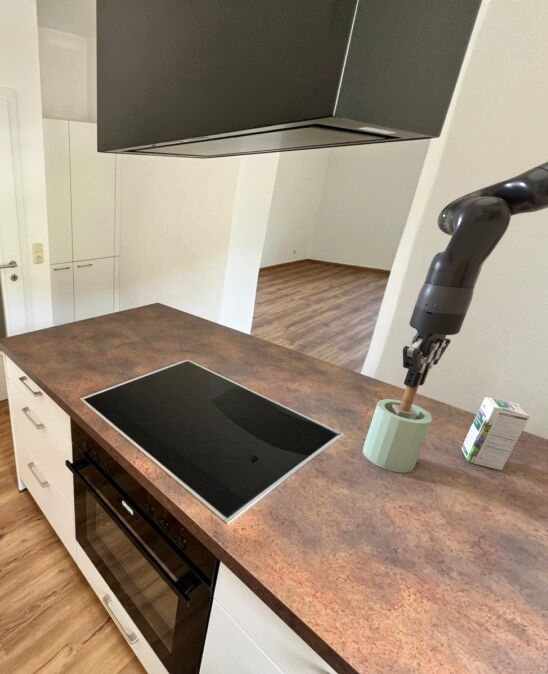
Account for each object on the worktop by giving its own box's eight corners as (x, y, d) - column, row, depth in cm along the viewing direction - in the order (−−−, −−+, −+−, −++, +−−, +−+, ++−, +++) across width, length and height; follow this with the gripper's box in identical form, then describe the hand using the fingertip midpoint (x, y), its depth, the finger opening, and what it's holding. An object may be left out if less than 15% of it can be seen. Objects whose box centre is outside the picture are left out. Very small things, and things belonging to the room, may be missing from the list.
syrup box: (459, 448, 86) (482, 395, 81) (494, 456, 83) (520, 402, 78) (467, 462, 82) (492, 407, 76) (503, 471, 79) (532, 415, 73)
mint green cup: (403, 449, 86) (420, 403, 81) (421, 477, 78) (441, 426, 73) (357, 442, 89) (371, 396, 84) (370, 467, 80) (386, 418, 76)
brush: (404, 421, 81) (426, 361, 75) (411, 429, 78) (433, 367, 72) (387, 419, 82) (407, 359, 76) (393, 427, 79) (414, 365, 73)
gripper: (435, 297, 76) (410, 371, 82) (399, 306, 70) (375, 384, 76) (482, 306, 69) (451, 385, 76) (447, 317, 64) (416, 401, 70)
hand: (413, 384), depth 76 cm, fingers closed on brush, 2 cm apart
